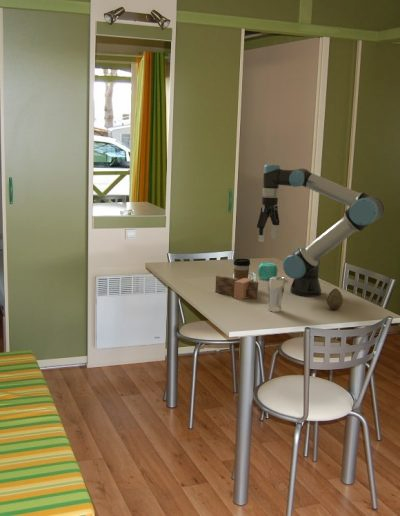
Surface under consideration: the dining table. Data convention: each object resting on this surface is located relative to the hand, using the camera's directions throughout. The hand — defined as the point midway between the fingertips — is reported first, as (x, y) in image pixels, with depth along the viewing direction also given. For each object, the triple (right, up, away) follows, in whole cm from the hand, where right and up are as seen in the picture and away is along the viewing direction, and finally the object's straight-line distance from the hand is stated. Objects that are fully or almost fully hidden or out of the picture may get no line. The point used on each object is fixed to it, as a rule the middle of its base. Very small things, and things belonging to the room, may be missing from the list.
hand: (267, 240), depth 337 cm
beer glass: (+1, -33, -26) cm, 42 cm away
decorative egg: (+29, -33, -20) cm, 48 cm away
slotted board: (-15, -27, -1) cm, 31 cm away
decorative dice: (+4, -20, +37) cm, 42 cm away
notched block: (-12, -27, -3) cm, 30 cm away
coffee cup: (-12, -24, +13) cm, 30 cm away
